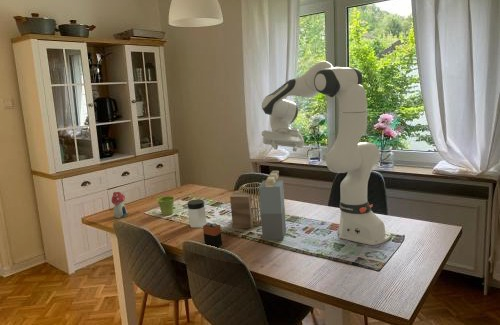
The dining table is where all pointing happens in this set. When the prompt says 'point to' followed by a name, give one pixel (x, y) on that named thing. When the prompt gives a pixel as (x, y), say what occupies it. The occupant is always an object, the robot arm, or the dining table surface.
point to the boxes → (262, 210)
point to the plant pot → (166, 204)
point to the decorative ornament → (119, 205)
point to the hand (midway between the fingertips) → (285, 149)
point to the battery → (212, 234)
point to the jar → (196, 213)
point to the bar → (272, 178)
